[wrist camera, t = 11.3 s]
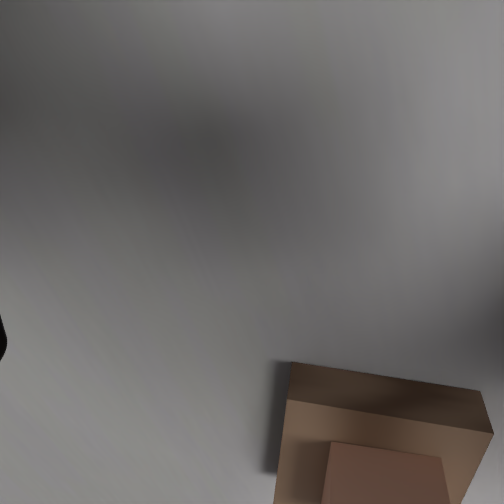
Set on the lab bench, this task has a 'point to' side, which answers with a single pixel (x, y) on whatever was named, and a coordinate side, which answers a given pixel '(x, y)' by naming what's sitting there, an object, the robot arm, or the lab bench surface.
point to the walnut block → (376, 426)
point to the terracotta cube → (382, 477)
